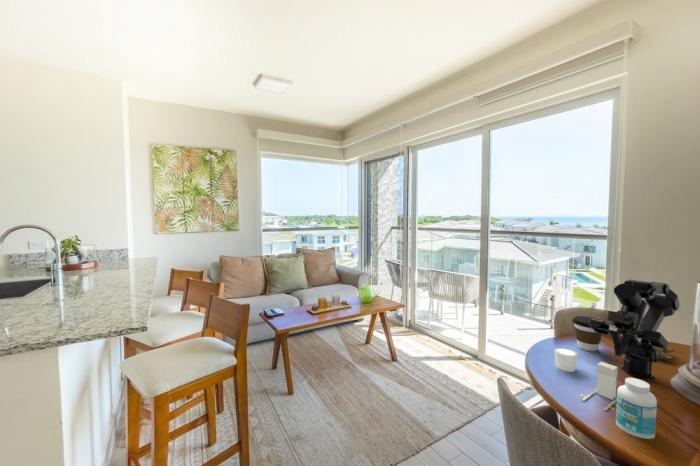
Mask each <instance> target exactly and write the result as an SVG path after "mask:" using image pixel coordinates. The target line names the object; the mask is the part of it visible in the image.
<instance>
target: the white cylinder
mask: <svg viewBox="0 0 700 466" xmlns="http://www.w3.org/2000/svg"><path fill="white" fill-rule="evenodd" d="M554 356H555V357H554V359H555V361H554V362H555V366H556V368H557V369H558V370H561V371H564V372H568V373H573V372H575V371H576V370H577V363H578V358H579V354H578V352H576V351H575V350H572V349H570V348H564V347H556V348H555V349H554Z"/></svg>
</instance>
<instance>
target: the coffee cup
mask: <svg viewBox="0 0 700 466" xmlns="http://www.w3.org/2000/svg"><path fill="white" fill-rule="evenodd" d="M591 319H597V320H600V319H598V318H594V317H592V316H586V315H585V316H582V315H581V316H580V315H578V316H576V315H575V316H574V317H573V318H572V320H571V322H572V323H573V324H574V325H573V328H574V334H575V335H574V336H575V339H576V342H577V346H578V348H580V349H581V350H583V351H586V352H587V351H588V352H596V351H597V350H599V345H600V343H601V339H602V335H603V334H600V333H597V332H595V331H594V330H593V329H592V328H591V327H590V326H589V325H588V324H589V321H590V320H591Z"/></svg>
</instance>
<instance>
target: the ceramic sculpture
mask: <svg viewBox="0 0 700 466" xmlns="http://www.w3.org/2000/svg"><path fill="white" fill-rule="evenodd" d="M655 348H656V351H657V353H658V359H661V360H675V358H674V357H672V356H670V355H669V354H668V353H675V352H676V350H674V349H669V348H668V347H666V349H663V348H659V347H655Z"/></svg>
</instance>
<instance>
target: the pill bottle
mask: <svg viewBox="0 0 700 466" xmlns="http://www.w3.org/2000/svg"><path fill="white" fill-rule="evenodd" d="M650 391H651V385H650V384H649V383H648V382H646V381H644V380H642V379H640V378H636V377H626V378H625V379H624V384H623V385H620V386H618V388H617V391H616V398H617V402H616V404H617V405H616V409H617V410H616V412H615V413H616V414H615V424H616V426H617V427H618V428H619V429H621V430H622V431H623V432H625V433H627V434H628V435H631V436H633V437H636V438H641V439H647V440H650V439H654V438H655V437H656V429H657V428H656V426H657V424H656V423H657V412H658V411H657V410H658V408H657V407H658V400H657V398H656V396H655V394H653V393H652V392H650Z"/></svg>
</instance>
